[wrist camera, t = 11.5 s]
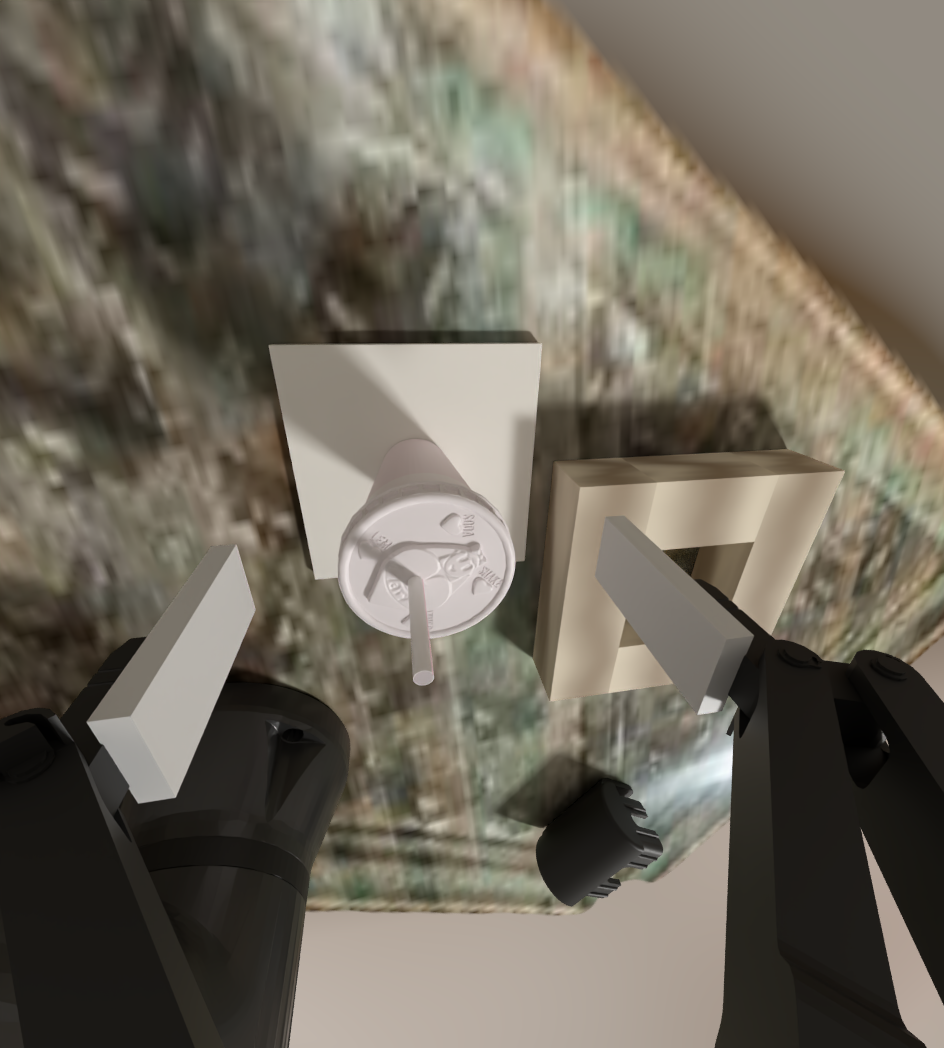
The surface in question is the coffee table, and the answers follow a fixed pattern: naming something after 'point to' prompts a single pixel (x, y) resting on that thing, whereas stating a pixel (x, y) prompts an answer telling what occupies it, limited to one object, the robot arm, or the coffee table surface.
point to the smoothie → (424, 552)
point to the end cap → (595, 843)
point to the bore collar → (671, 523)
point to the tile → (405, 424)
